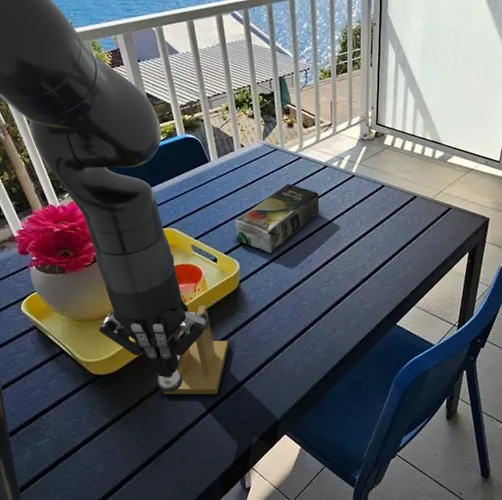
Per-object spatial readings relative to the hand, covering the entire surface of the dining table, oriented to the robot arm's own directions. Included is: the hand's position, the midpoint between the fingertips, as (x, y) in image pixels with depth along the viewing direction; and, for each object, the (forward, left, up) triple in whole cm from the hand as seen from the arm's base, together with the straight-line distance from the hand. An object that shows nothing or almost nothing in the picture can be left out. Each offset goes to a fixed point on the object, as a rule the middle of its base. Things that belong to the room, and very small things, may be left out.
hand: (168, 371), depth 66 cm
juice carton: (+51, +9, -11) cm, 53 cm away
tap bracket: (+9, +3, -11) cm, 15 cm away
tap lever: (+5, +2, -3) cm, 6 cm away
